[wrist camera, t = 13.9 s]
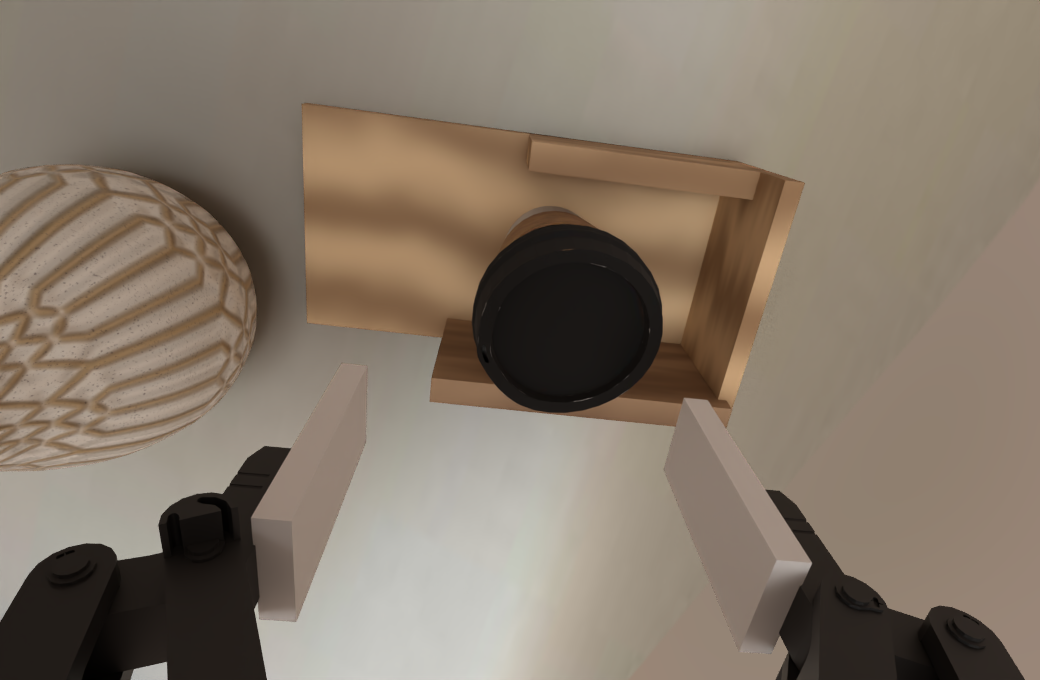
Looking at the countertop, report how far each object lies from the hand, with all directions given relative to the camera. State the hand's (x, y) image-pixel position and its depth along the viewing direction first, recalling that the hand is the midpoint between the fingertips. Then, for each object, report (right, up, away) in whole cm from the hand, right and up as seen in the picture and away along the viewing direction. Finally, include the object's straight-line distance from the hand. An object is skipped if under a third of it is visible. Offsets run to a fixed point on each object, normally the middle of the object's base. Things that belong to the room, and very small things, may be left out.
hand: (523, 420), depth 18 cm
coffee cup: (+2, +8, +20) cm, 22 cm away
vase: (-24, +7, +21) cm, 33 cm away
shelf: (0, +9, +21) cm, 23 cm away
